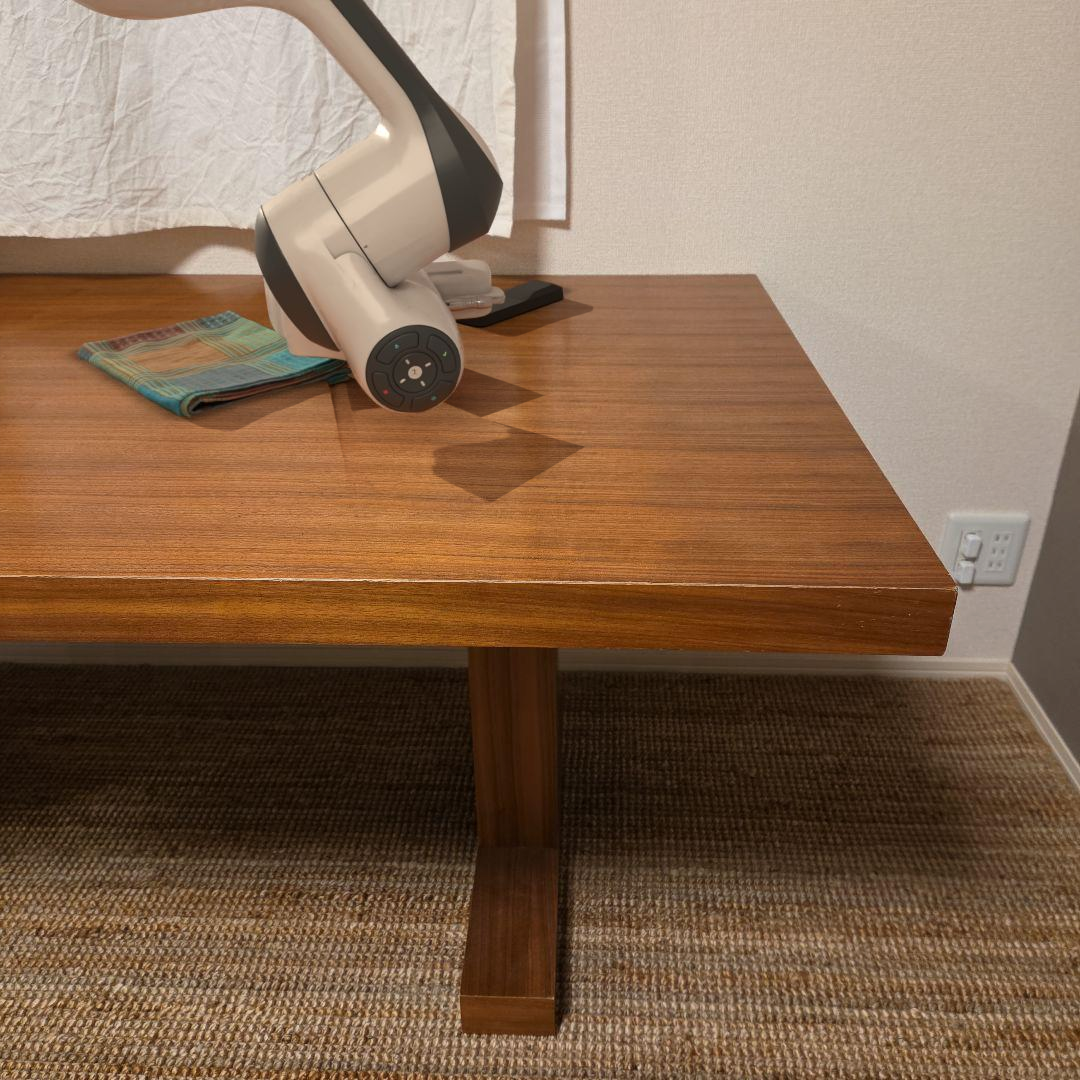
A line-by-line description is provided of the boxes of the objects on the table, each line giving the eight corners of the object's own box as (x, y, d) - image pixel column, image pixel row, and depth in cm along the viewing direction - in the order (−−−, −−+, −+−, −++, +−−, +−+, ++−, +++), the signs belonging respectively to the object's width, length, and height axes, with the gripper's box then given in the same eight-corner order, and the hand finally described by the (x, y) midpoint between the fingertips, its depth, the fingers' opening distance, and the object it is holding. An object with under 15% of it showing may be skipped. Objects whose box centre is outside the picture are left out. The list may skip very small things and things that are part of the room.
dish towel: (184, 430, 84) (178, 401, 82) (74, 362, 99) (68, 337, 98) (357, 380, 94) (354, 353, 93) (234, 326, 109) (230, 303, 108)
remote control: (481, 333, 108) (567, 297, 118) (480, 316, 107) (566, 282, 117) (448, 324, 111) (534, 290, 121) (447, 308, 110) (534, 275, 120)
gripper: (509, 265, 85) (478, 232, 97) (261, 282, 81) (260, 245, 93) (510, 337, 88) (480, 297, 100) (271, 358, 84) (269, 312, 96)
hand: (372, 272), depth 96 cm, fingers closed on can, 7 cm apart
